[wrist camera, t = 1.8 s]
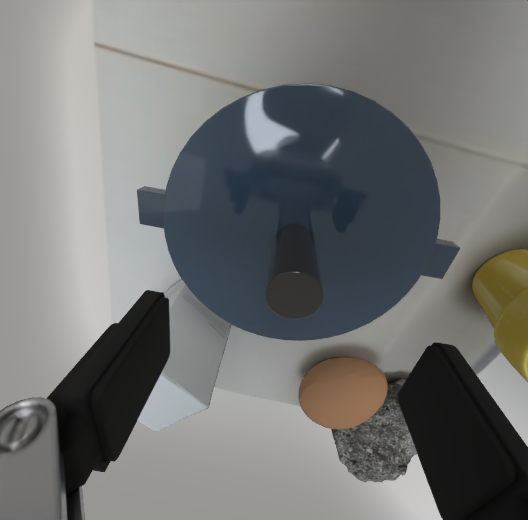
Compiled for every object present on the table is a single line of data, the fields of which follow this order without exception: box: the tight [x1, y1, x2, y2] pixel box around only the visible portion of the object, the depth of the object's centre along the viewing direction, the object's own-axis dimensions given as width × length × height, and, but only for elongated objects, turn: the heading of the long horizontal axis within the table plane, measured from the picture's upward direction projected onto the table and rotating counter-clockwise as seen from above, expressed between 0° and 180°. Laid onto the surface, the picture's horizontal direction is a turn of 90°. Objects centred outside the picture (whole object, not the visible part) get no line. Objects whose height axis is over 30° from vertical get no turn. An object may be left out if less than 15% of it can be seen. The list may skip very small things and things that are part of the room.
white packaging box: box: [138, 279, 231, 432], centre depth 27 cm, size 7×7×13 cm
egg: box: [299, 357, 388, 429], centre depth 32 cm, size 8×8×11 cm
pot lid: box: [163, 84, 440, 340], centre depth 15 cm, size 17×17×7 cm
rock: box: [331, 379, 417, 482], centre depth 36 cm, size 13×13×10 cm
